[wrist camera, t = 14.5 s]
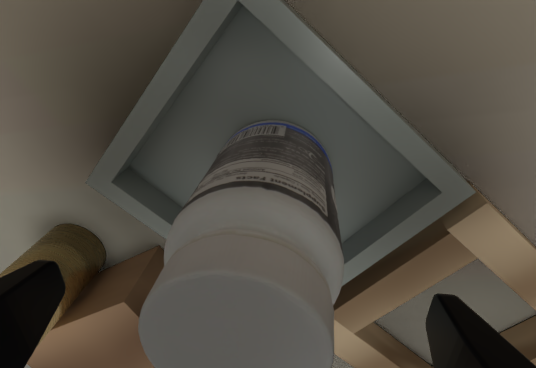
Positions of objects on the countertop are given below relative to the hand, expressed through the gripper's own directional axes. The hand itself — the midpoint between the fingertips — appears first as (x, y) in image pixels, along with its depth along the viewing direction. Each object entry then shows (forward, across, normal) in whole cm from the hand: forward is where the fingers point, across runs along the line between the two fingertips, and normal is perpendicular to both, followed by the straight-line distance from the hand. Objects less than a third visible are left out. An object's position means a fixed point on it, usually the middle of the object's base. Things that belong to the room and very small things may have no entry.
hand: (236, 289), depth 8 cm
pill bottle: (+7, 0, 0) cm, 7 cm away
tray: (+7, 0, 0) cm, 7 cm away
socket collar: (+7, -9, +8) cm, 14 cm away
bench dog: (+7, +10, +6) cm, 14 cm away
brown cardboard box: (+8, +8, +10) cm, 15 cm away
